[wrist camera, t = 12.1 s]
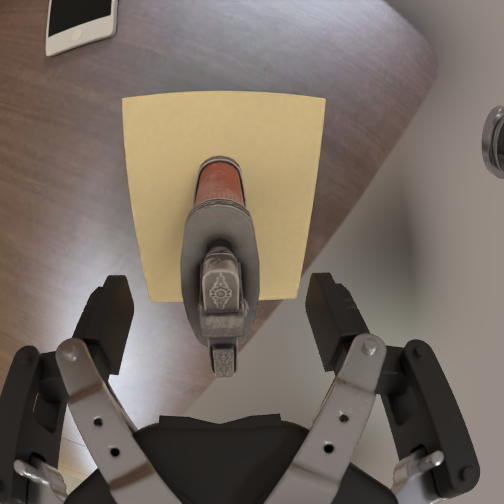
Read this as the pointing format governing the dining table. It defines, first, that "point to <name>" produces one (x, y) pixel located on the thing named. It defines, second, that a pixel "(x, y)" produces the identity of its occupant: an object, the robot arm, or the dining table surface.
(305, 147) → the lunchbox lid
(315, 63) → the dining table surface
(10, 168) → the dining table surface
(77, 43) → the smartphone
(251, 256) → the lighter
